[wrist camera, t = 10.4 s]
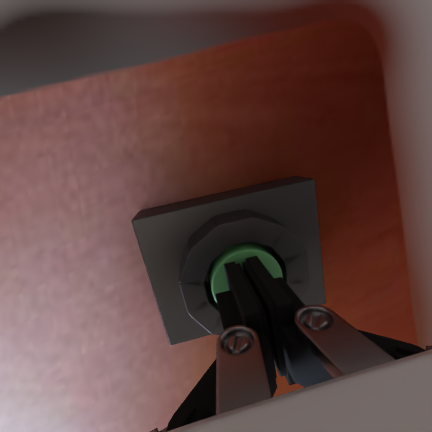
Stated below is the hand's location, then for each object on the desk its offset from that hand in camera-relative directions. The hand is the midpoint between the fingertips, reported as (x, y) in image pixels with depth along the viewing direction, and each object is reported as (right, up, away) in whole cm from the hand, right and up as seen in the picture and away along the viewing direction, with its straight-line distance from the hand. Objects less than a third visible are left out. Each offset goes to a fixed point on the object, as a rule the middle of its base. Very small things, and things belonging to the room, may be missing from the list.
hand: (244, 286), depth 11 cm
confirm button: (0, +1, +2) cm, 2 cm away
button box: (0, +1, +4) cm, 4 cm away
